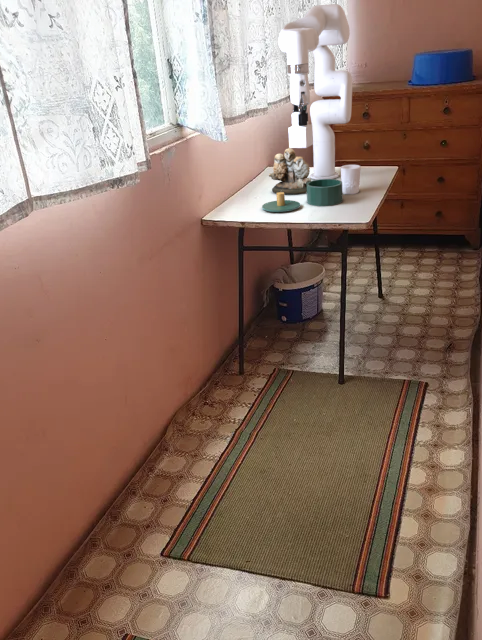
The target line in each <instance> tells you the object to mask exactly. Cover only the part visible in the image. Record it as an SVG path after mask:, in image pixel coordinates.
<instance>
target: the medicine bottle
mask: <svg viewBox="0 0 482 640" xmlns="http://www.w3.org/2000/svg"><path fill="white" fill-rule="evenodd" d="M298 114H299V111H298V112H294V113H293V112H292V113H291V126H290V127H288V128H287V131H288V133H287V135H288V148H291V149H308V148H309V147H311V146H313V131H312V123H311V124H310V123H309V113H308V112H307V125H305V126H299V124H298Z"/></svg>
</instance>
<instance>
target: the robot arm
mask: <svg viewBox="0 0 482 640" xmlns="http://www.w3.org/2000/svg"><path fill="white" fill-rule="evenodd" d="M350 31H351V30H350V25H349V21H348V19H347V16H346V13H345V10H344V9H343V7H342V6H341V5H340V4H338V3H330V4H317V5H314V6H312V7H310V8H309V10H308V11H307V12H306V13H305V15H304V16H302V17H300V18H297V19H295V20H292V21H290V22H288V23H287V24H284V26H283V27H282V29H280V32H279V35H278V42H277V43H278V48H279V49H280V51H281V52H282V53H284V54H286V65H287V66H286V67H287V76H289V95H290V103H291V105H292V113H294V112H298V111H299V114H298V124H299V126H305V125H307V113H308V105H310V107H309V116H310V122H311V124H312V133H313V144H312V153H313V154H312V155H313V172H312V173H311V174H309V176H310V177H309V178H310V179H311V180H319V179H337V178H339V172H337V171H336V136H335V132H334V130H333V128H332V127H331V125H340V124H341V125H344V124H345V125H346V124H348V123H349V122H350V121H351V118H352V108H353V107H352V104H353V77H352V74H351V72H350V71H348V70H344V69H343V70H336V57H335V55H334V52H333V51H332V50H331V48H330V47H328V46H341V45H345V44H347V43H348V41H349V39H350V34H351V32H350ZM310 52H312V55H313V59H314V72H313V74H314V76H313V88H314V89H313V90H314V94H315V95H316V96H318V97H340V98H339V99H338V98H336V99H330V98H329V99H318V100H315V101H313V102H312V103H311V95H310V94H311V93H310V81H309V73H310V70H309V69H310V64H309V61H310V60H309V53H310Z"/></svg>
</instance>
